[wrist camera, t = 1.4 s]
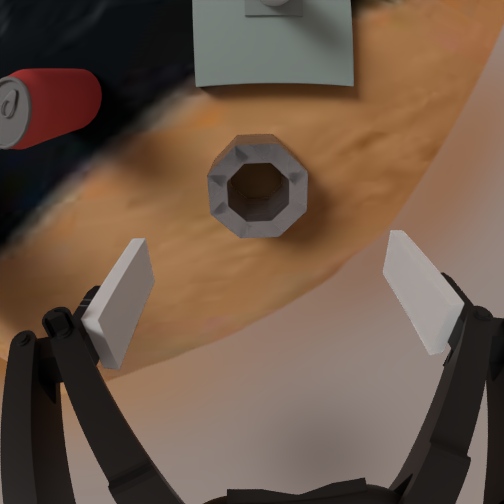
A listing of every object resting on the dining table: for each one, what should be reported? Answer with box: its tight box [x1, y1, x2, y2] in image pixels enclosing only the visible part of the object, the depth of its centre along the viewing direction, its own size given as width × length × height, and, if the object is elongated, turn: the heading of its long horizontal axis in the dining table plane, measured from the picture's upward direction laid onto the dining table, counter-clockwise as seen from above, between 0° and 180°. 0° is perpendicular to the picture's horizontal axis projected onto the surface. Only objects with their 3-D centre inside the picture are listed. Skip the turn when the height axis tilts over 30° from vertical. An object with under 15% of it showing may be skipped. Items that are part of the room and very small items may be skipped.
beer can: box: [0, 69, 102, 149], centre depth 20 cm, size 7×7×12 cm
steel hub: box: [207, 134, 308, 238], centre depth 28 cm, size 8×8×6 cm
